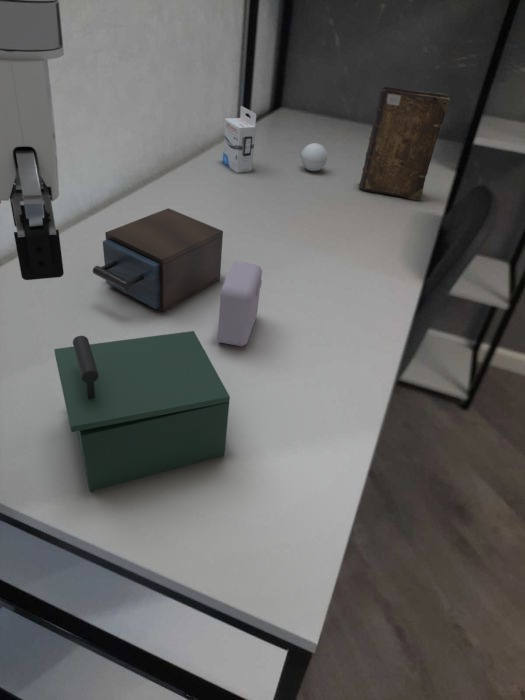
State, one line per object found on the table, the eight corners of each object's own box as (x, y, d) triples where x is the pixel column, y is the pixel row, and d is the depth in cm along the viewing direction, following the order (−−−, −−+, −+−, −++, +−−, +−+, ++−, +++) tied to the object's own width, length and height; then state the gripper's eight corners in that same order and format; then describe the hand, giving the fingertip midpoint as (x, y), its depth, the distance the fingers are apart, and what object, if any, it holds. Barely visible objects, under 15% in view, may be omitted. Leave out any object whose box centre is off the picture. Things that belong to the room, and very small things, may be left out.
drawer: (136, 320, 80) (133, 276, 75) (86, 292, 85) (81, 249, 80) (209, 279, 92) (211, 238, 88) (162, 256, 97) (161, 217, 92)
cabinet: (163, 312, 84) (163, 259, 78) (109, 283, 89) (105, 232, 83) (220, 279, 94) (223, 231, 88) (168, 255, 99) (168, 208, 93)
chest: (89, 491, 56) (80, 436, 51) (72, 412, 65) (63, 358, 60) (224, 455, 62) (229, 402, 57) (192, 387, 71) (193, 336, 66)
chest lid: (71, 432, 50) (67, 397, 47) (54, 354, 59) (50, 320, 56) (229, 402, 57) (234, 369, 54) (193, 335, 65) (196, 304, 63)
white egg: (301, 164, 150) (305, 137, 146) (326, 169, 149) (331, 142, 145) (294, 174, 143) (298, 147, 138) (320, 179, 142) (325, 152, 137)
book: (357, 190, 138) (380, 87, 123) (359, 181, 144) (382, 82, 129) (420, 202, 136) (451, 99, 121) (420, 193, 141) (450, 93, 126)
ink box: (221, 162, 144) (224, 105, 135) (237, 161, 146) (241, 105, 137) (236, 173, 139) (241, 115, 130) (252, 171, 141) (258, 114, 132)
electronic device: (247, 351, 78) (253, 295, 72) (217, 345, 79) (220, 289, 73) (258, 315, 86) (265, 262, 80) (231, 310, 87) (235, 257, 81)
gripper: (-54, 4, 41) (-12, 212, 51) (-65, 44, 28) (-6, 307, 39) (48, 13, 43) (69, 208, 54) (79, 54, 31) (98, 295, 42)
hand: (37, 249), depth 46 cm, fingers open, 9 cm apart
